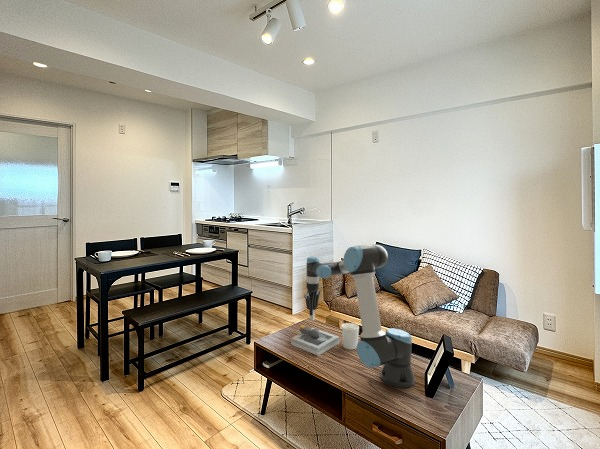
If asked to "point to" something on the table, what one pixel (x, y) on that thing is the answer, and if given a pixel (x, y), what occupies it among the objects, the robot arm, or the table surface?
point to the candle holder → (350, 335)
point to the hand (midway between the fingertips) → (312, 319)
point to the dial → (312, 335)
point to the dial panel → (312, 348)
